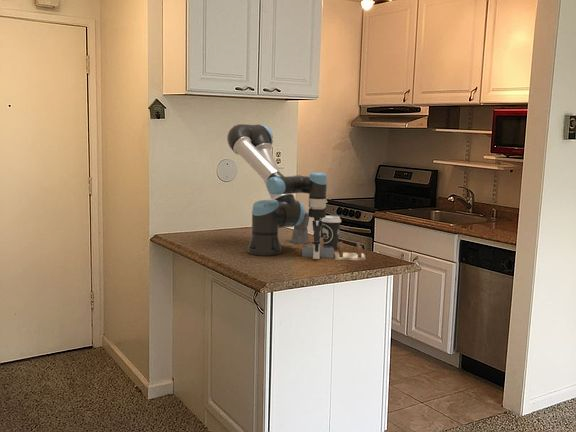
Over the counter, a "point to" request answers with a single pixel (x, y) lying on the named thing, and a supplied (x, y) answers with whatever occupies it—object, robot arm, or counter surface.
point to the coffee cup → (331, 230)
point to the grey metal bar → (324, 251)
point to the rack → (350, 256)
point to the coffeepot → (301, 231)
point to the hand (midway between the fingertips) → (316, 255)
